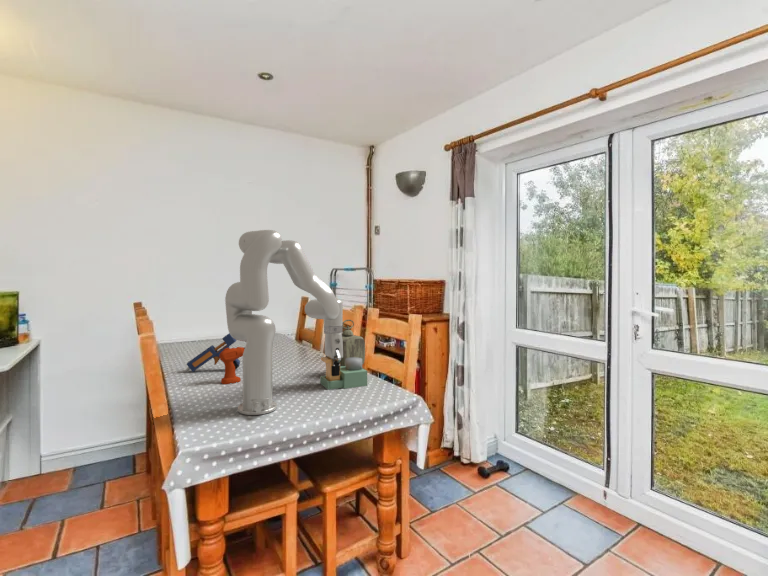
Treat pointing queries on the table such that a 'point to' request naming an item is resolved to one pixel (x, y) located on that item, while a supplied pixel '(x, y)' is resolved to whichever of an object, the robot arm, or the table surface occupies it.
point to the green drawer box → (348, 375)
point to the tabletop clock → (352, 345)
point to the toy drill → (231, 364)
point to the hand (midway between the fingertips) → (332, 373)
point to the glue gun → (211, 354)
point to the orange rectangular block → (329, 369)
